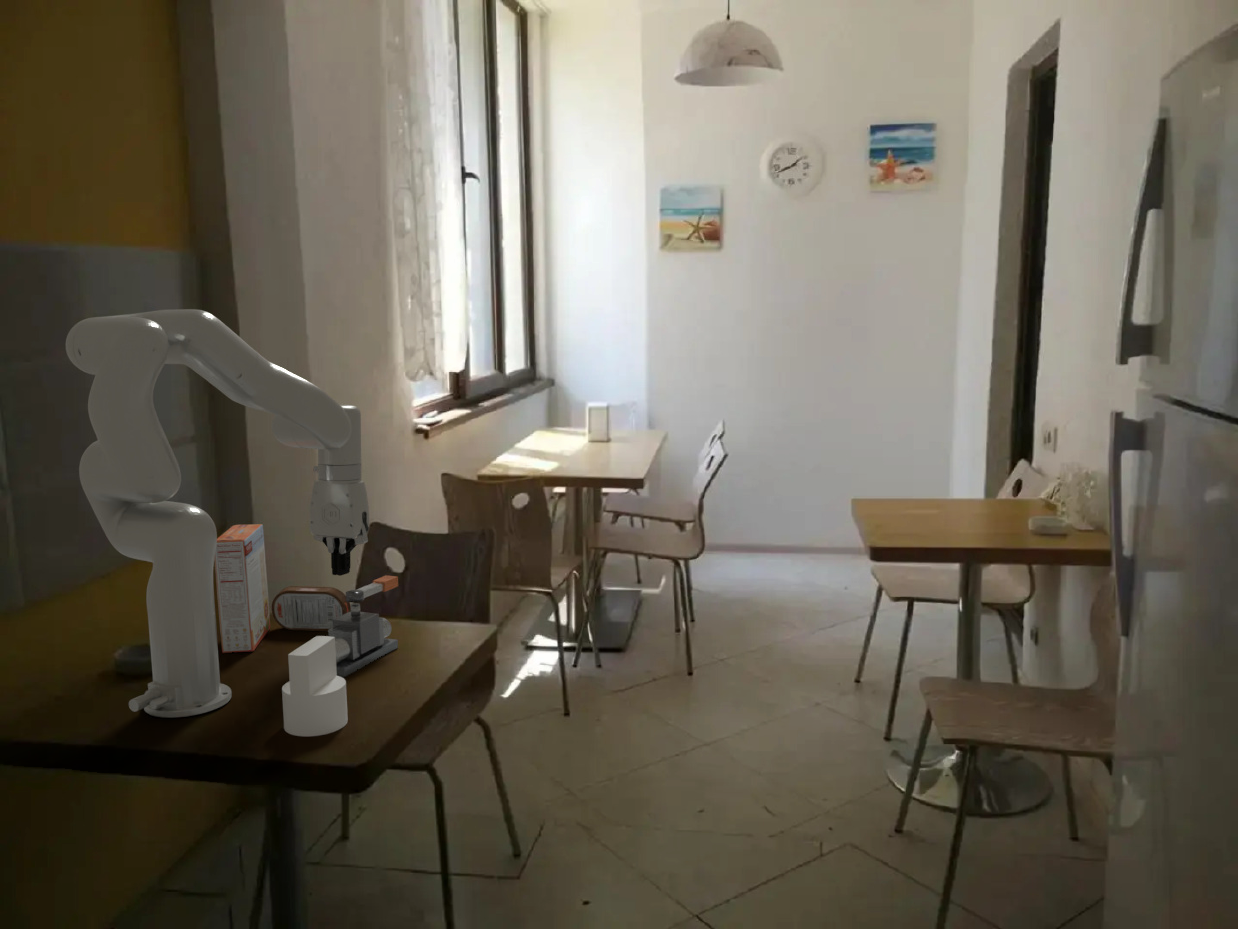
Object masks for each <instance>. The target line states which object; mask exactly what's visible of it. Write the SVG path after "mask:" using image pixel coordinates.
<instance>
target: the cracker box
mask: <svg viewBox="0 0 1238 929" xmlns="http://www.w3.org/2000/svg"><path fill="white" fill-rule="evenodd" d="M264 535H265V534H264V524H260V523H257V524H256V523H255V524H235V525H234V524H233V525H232V526H230V528H228V529H227V530H226V531H225V532H223V533H222V534H221V535H220V536H217V543H216V551H215V557H214V570H215V571H214V573H215V583H216V596H217V606H218V618H219V619H218V620H219V630H220V632H219V633H220V640H221V642H220V644H221V652H222V654H231V653H232V652H234V653H244V652H245V653H246V652H254V651H255V649H256V648H257V647H258V646H259V644H260V643H261V641H262V640H263V639H264V637H265V636H266V635H267V633H268V632H269V630H270V629H271V621H270V620H271V616H270V605H269V604H270V603H269V601H270V600H269V591H268V579H267V578H268V576H267V565H266V564H267V562H266V550H265V549H266V548H265V536H264ZM232 654H233V653H232Z"/></svg>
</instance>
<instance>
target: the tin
mask: <svg viewBox="0 0 1238 929" xmlns="http://www.w3.org/2000/svg"><path fill="white" fill-rule="evenodd" d="M271 602H272V603H271V613H272V617H273V619H274V620H275V622H276V623H277V624H278V625H279V626H280V627H282V628H283V629H285V630H289V631H305V632H306V631H308V632H309V631H311V632H313V631H314V632H328V630H329V629H331V628H333V619H335V618H337V617H339V616H342V615H344V614H346V613H348V612H351V602H347V601H346V593H344V592H343V591H342V590H340V589H339V588H335V587H332V586H313V585H312V586H309V585H307V586H306V585H290V586H287V587H285V588H283V589H281V590H280V591H279V593H278V594H277V595H275V596H274V598H273V599H272V601H271Z"/></svg>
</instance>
